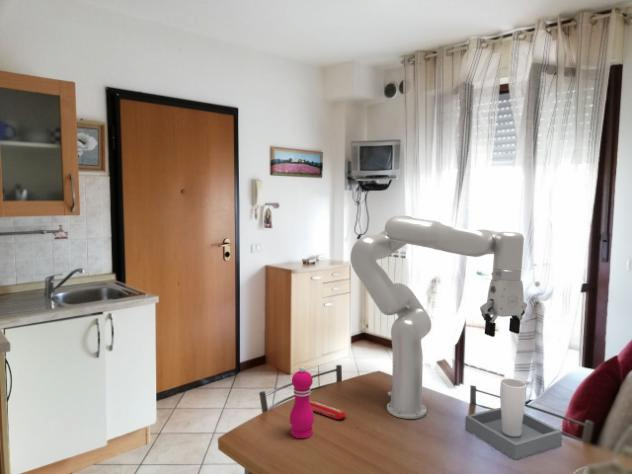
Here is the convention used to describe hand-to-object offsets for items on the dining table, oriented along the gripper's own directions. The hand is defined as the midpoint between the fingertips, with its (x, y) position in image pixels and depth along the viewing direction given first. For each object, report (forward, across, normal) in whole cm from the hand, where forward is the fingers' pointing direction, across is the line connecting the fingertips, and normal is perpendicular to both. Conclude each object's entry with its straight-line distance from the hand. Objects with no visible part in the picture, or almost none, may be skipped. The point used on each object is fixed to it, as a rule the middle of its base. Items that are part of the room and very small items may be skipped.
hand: (502, 333), depth 127 cm
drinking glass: (+29, +3, -3) cm, 29 cm away
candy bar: (+32, -40, +32) cm, 61 cm away
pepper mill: (+32, -52, +23) cm, 65 cm away
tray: (+30, +3, -4) cm, 30 cm away
